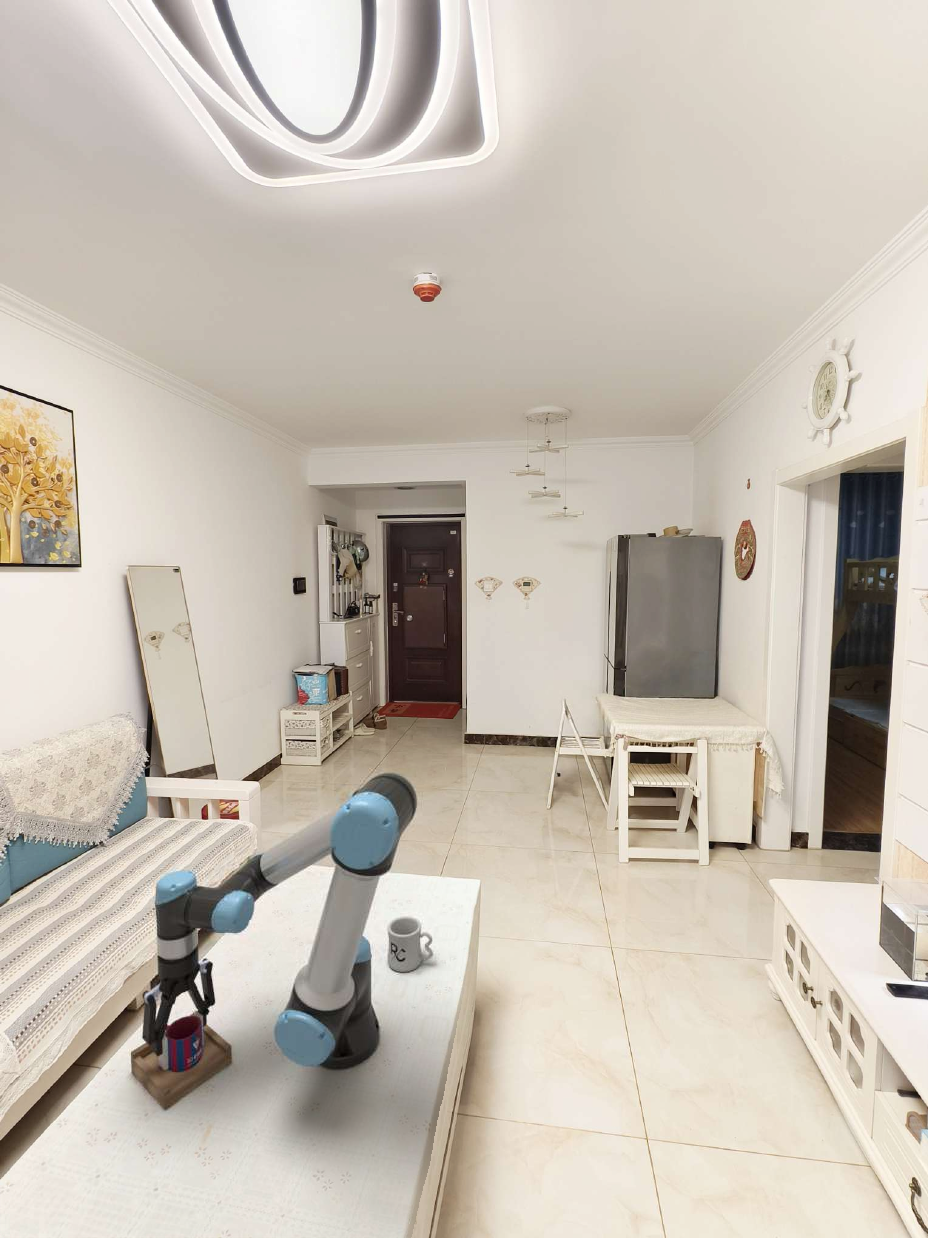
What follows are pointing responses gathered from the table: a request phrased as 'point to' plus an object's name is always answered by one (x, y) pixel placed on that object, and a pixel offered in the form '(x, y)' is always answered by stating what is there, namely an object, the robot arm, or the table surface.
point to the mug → (406, 944)
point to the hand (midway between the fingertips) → (181, 1054)
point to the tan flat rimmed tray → (178, 1084)
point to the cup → (184, 1043)
